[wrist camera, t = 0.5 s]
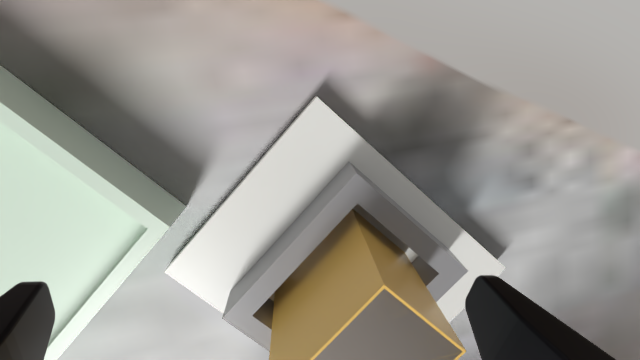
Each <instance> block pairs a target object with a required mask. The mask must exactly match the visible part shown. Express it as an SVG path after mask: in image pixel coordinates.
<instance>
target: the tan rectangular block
mask: <svg viewBox="0 0 640 360" xmlns="http://www.w3.org/2000/svg"><path fill="white" fill-rule="evenodd" d="M465 352H466V350H465V348H464V347H463V345H462V343H461V342H460V340H459V339H458V337H457V335H456V334H455V332H454V331H453V329H452V327H451V326H450V324H449V323H448V321H447V319H446V318H445V316H444V315H443V313H442V311H441V310H440V308H439V307H438V305H437V303H436V302H435V300H434V298H433V297H432V295H431V294H430V292H429V290H428V289H427V287H426V286H425V284H424V282H423V281H422V279H421V278H420V276H419V274H418V273H417V271H416V270H415V268H414V266H413V265H412V263H411V262H410V260H409V258H408V257H407V255H406V254H405V252H404V251H402V250H401V249H400V248H399V247H398V246H396V245H395V244H394V243H393V242H392V241H391V240H389V239H388V238H387V237H386V236H385V235H383V234H382V233H381V232H380V231H379V230H378V229H376V228H375V227H374V226H373V225H372V224H371V223H369V222H368V221H367V220H366V219H365V218H363V217H362V216H361V215H360V214H359V213H358V212H356V211H355V210H354V209H352V210H351V211H350V212H349V213H348V214H347V215H346V216H345V217H344V218H343V219H342V220H341V222H340V223H339V224H338V225H337V226H336V227H335V228H334V229H333V230H332V231H331V232H330V233H329V234H328V235H327V236H326V238H325V239H324V240H323V241H322V242H321V243H320V244H319V245H318V246H317V247H316V248H315V249H314V250H313V251H312V252H311V254H310V255H309V256H308V257H307V258H306V259H305V260H304V261H303V262H302V263H301V264H300V265H299V266H298V267H297V269H296V270H295V271H294V272H293V273H292V274H291V275H290V276H289V277H288V278H287V279H286V280H285V281H284V282H283V283H282V285H281V286H280V287H279V288H278V289H277V290H276V291H275V296H274V308H273V319H272V331H271V343H270V355H269V360H458V359H459V358H460V357H461V356H462V355H463V354H464V353H465Z"/></svg>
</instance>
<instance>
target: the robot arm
mask: <svg viewBox="0 0 640 360" xmlns="http://www.w3.org/2000/svg"><path fill="white" fill-rule="evenodd" d="M465 308H466V312H467V315H468V318H469V321H470V324H471V327H472V330H473V333H474V337H475V340H476V343H477V346H478V349H479V352H480V355H481V358H482V360H616V359H614V358H613V357H611V356H610V355H609V354H607V353H606V352H604V351H603V350H601V349H600V348H599V347H597V346H596V345H594V344H593V343H591V342H590V341H589V340H587V339H586V338H584V337H583V336H581V335H580V334H579V333H577V332H576V331H574V330H573V329H572V328H570V327H569V326H567V325H566V324H564V323H563V322H562V321H560V320H559V319H557V318H556V317H554V316H553V315H552V314H550V313H549V312H547V311H546V310H544V309H543V308H542V307H540V306H539V305H537V304H536V303H534V302H533V301H532V300H530V299H529V298H527V297H526V296H524V295H523V294H522V293H520V292H519V291H517V290H516V289H515V288H513V287H512V286H510V285H509V284H507V283H506V282H505V281H503V280H502V279H500V278H499V277H497V276H494V275H480V276H478V277H477V278H476V279H475V281H474V283H473V285H472V287H471V289H470V291H469V293H468V295H467V297H466V300H465ZM54 322H55V308H54V305H53V301H52V298H51V294H50V290H49V287H48V285H47V284H46V283H45V282H42V281H34V282H20V283H18V284H16V285H15V286H13V287H12V288H11V289H9V290H8V291H7V292H5V293H4V294H3V295H1V296H0V360H44V357H45V354H46V350H47V347H48V343H49V340H50V336H51V333H52V329H53V326H54Z"/></svg>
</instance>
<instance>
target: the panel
mask: <svg viewBox="0 0 640 360" xmlns="http://www.w3.org/2000/svg"><path fill="white" fill-rule="evenodd" d="M352 209H354V210H355V211H356V212H358V213H359V214H360V215H361V216H362V217H363V218H365V219H366V220H367V221H368V222H369V223H371V224H372V225H373V226H374V227H375V228H376V229H378V230H379V231H380V232H381V233H382V234H383V235H385V236H386V237H387V238H388V239H389V240H391V241H392V242H393V243H394V244H395V245H396V246H398V247H399V248H400V249H401V250H402V251H404V252H405V254H406V255H407V257H408V258H409V260H410V262H411V263H412V265H413V266H414V268H415V270H416V271H417V273H418V274H419V276H420V278H421V279H422V281H423V282H424V284H425V286H426V287H427V289H428V290H429V292H430V294H431V295H432V297H433V298H434V300H435V302H436V303H437V305H438V307H439V308H440V310H441V311H442V313H443V315H444V316H445V318H446V319H447V321H448V323H449V322H451V321H452V320H453V319H454V318H455V317H456V316H457V315H458V314H459V313H460V312H461V311H462V310H463V309H464V308H465V300H466V297H467V295H468V293H469V291H470V289H471V287H472V285H473V283H474V281H475V279H476V278H477V277H478V276H480V275H494V276H497V277H498V276H499V275H500V274H501V273H502V272H503V271H504V270H505V269H506V267H504V266H503V265H502V264H501V263H500V262H499V261H498V260H497V259H496V258H495V257H493V256H492V255H491V254H490V253H489V252H488V251H487V250H486V249H485V248H484V247H482V246H481V245H480V244H479V243H478V242H477V241H476V240H475V239H474V238H472V237H471V236H470V235H469V234H468V233H467V232H466V231H465V230H464V229H463V228H461V227H460V226H459V225H458V224H457V223H456V222H455V221H454V220H453V219H452V218H450V217H449V216H448V215H447V214H446V213H445V212H444V211H443V210H442V209H440V208H439V207H438V206H437V205H436V204H435V203H434V202H433V201H432V200H431V199H429V198H428V197H427V196H426V195H425V194H424V193H423V192H422V191H421V190H419V189H418V188H417V187H416V186H415V185H414V184H413V183H412V182H411V181H410V180H408V179H407V178H406V177H405V176H404V175H403V174H402V173H401V172H400V171H399V170H397V169H396V168H395V167H394V166H393V165H392V164H391V163H390V162H389V161H387V160H386V159H385V158H384V157H383V156H382V155H381V154H380V153H379V152H378V151H376V150H375V149H374V148H373V147H372V146H371V145H370V144H369V143H368V142H367V141H365V140H364V139H363V138H362V137H361V136H360V135H359V134H358V133H357V132H355V131H354V130H353V129H352V128H351V127H350V126H349V125H348V124H347V123H346V122H344V121H343V120H342V119H341V118H340V117H339V116H338V115H337V114H336V113H334V112H333V111H332V110H331V109H330V108H329V107H328V106H327V105H326V104H325V103H323V102H322V101H321V100H320V99H319V98H318V97H317V96H315V97H314V98H313V99H312V100H311V102H310V103H309V104H308V105H307V106H306V107H305V109H304V110H303V111H302V112H301V113H300V114H299V115H298V117H297V118H296V119H295V120H294V121H293V122H292V123H291V125H290V126H289V127H288V128H287V129H286V130H285V132H284V133H283V134H282V135H281V136H280V137H279V138H278V140H277V141H276V142H275V143H274V144H273V145H272V146H271V148H270V149H269V150H268V151H267V152H266V153H265V155H264V156H263V157H262V158H261V159H260V160H259V161H258V163H257V164H256V165H255V166H254V167H253V168H252V170H251V171H250V172H249V173H248V174H247V175H246V176H245V178H244V179H243V180H242V181H241V182H240V183H239V184H238V186H237V187H236V188H235V189H234V190H233V191H232V193H231V194H230V195H229V196H228V197H227V198H226V199H225V201H224V202H223V203H222V204H221V205H220V206H219V208H218V209H217V210H216V211H215V212H214V213H213V214H212V216H211V217H210V218H209V219H208V220H207V221H206V222H205V224H204V225H203V226H202V227H201V228H200V229H199V231H198V232H197V233H196V234H195V235H194V236H193V237H192V239H191V240H190V241H189V242H188V243H187V244H186V246H185V247H184V248H183V249H182V250H181V251H180V252H179V254H178V255H177V256H176V257H175V258H174V259H173V260H172V262H171V263H170V264H169V266H168V267H167V269H166V270H165V273H166V274H168V275H169V276H170V277H172V278H173V279H175V280H176V281H177V282H179V283H180V284H182V285H183V286H185V287H186V288H187V289H189V290H190V291H192V292H193V293H194V294H196V295H197V296H199V297H200V298H202V299H203V300H204V301H206V302H207V303H209V304H210V305H211V306H213V307H214V308H216V309H217V310H219V311H220V312H221V313H223V317H222V319H224V320H225V321H227V322H228V323H229V324H231V325H232V326H234V327H235V328H237V329H238V330H239V331H241V332H242V333H244V334H245V335H247V336H248V337H249V338H251V339H252V340H254V341H255V342H257V343H258V344H259V345H261V346H262V347H264V348H265V349H266V350H268V351H269V352H270V343H271V331H272V319H273V308H274V296H275V291H276V290H277V289H278V288H279V287H280V286H281V285H282V283H283V282H284V281H285V280H286V279H287V278H288V277H289V276H290V275H291V274H292V273H293V272H294V271H295V270H296V269H297V267H298V266H299V265H300V264H301V263H302V262H303V261H304V260H305V259H306V258H307V257H308V256H309V255H310V254H311V252H312V251H313V250H314V249H315V248H316V247H317V246H318V245H319V244H320V243H321V242H322V241H323V240H324V239H325V238H326V236H327V235H328V234H329V233H330V232H331V231H332V230H333V229H334V228H335V227H336V226H337V225H338V224H339V223H340V222H341V220H342V219H343V218H344V217H345V216H346V215H347V214H348V213H349V212H350V211H351V210H352Z"/></svg>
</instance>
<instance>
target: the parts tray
mask: <svg viewBox="0 0 640 360" xmlns="http://www.w3.org/2000/svg"><path fill="white" fill-rule="evenodd" d="M185 208H186V206H185V205H184V204H183V203H181V202H180V201H179V200H178V199H176V198H175V197H174V196H172V195H171V194H170V193H168V192H167V191H166V190H164V189H163V188H162V187H160V186H159V185H158V184H156V183H155V182H154V181H152V180H151V179H150V178H149V177H147V176H146V175H145V174H143V173H142V172H141V171H139V170H138V169H137V168H135V167H134V166H133V165H131V164H130V163H129V162H127V161H126V160H125V159H123V158H122V157H121V156H119V155H118V154H117V153H116V152H114V151H113V150H112V149H110V148H109V147H108V146H106V145H105V144H104V143H102V142H101V141H100V140H98V139H97V138H96V137H94V136H93V135H92V134H90V133H89V132H88V131H87V130H85V129H84V128H83V127H81V126H80V125H79V124H77V123H76V122H75V121H73V120H72V119H71V118H69V117H68V116H67V115H65V114H64V113H63V112H61V111H60V110H59V109H58V108H56V107H55V106H54V105H52V104H51V103H50V102H48V101H47V100H46V99H44V98H43V97H42V96H40V95H39V94H38V93H36V92H35V91H34V90H32V89H31V88H30V87H28V86H27V85H26V84H25V83H23V82H22V81H21V80H19V79H18V78H17V77H15V76H14V75H13V74H11V73H10V72H9V71H7V70H6V69H5V68H3V67H2V66H1V65H0V296H1V295H3V294H4V293H5V292H7V291H8V290H9V289H11V288H12V287H13V286H15V285H16V284H18V283H20V282H34V281H42V282H45V283H46V284H47V285H48V287H49V290H50V294H51V298H52V301H53V305H54V308H55V322H54V326H53V329H52V333H51V336H50V340H49V343H48V347H47V350H46V354H45V357H44V360H57V359H58V358H59V357H60V355H61V354H62V353H63V352H64V351H65V350H66V348H67V347H68V346H69V345H70V344H71V343H72V341H73V340H74V339H75V338H76V337H77V336H78V334H79V333H80V332H81V331H82V330H83V329H84V327H85V326H86V325H87V324H88V323H89V321H90V320H91V319H92V318H93V317H94V316H95V314H96V313H97V312H98V311H99V310H100V309H101V307H102V306H103V305H104V304H105V303H106V302H107V300H108V299H109V298H110V297H111V296H112V294H113V293H114V292H115V291H116V290H117V289H118V287H119V286H120V285H121V284H122V283H123V282H124V280H125V279H126V278H127V277H128V276H129V275H130V273H131V272H132V271H133V270H134V269H135V268H136V266H137V265H138V264H139V263H140V262H141V260H142V259H143V258H144V257H145V256H146V255H147V253H148V252H149V251H150V250H151V249H152V248H153V246H154V245H155V244H156V243H157V242H158V241H159V239H160V238H161V237H162V236H163V235H164V233H165V232H166V231H167V230H168V229H169V228H170V226H171V225H172V224H173V223H174V221H175V220H176V219H177V218H178V216H179V215H180V214H181V213H182V211H183V210H184V209H185Z"/></svg>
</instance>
